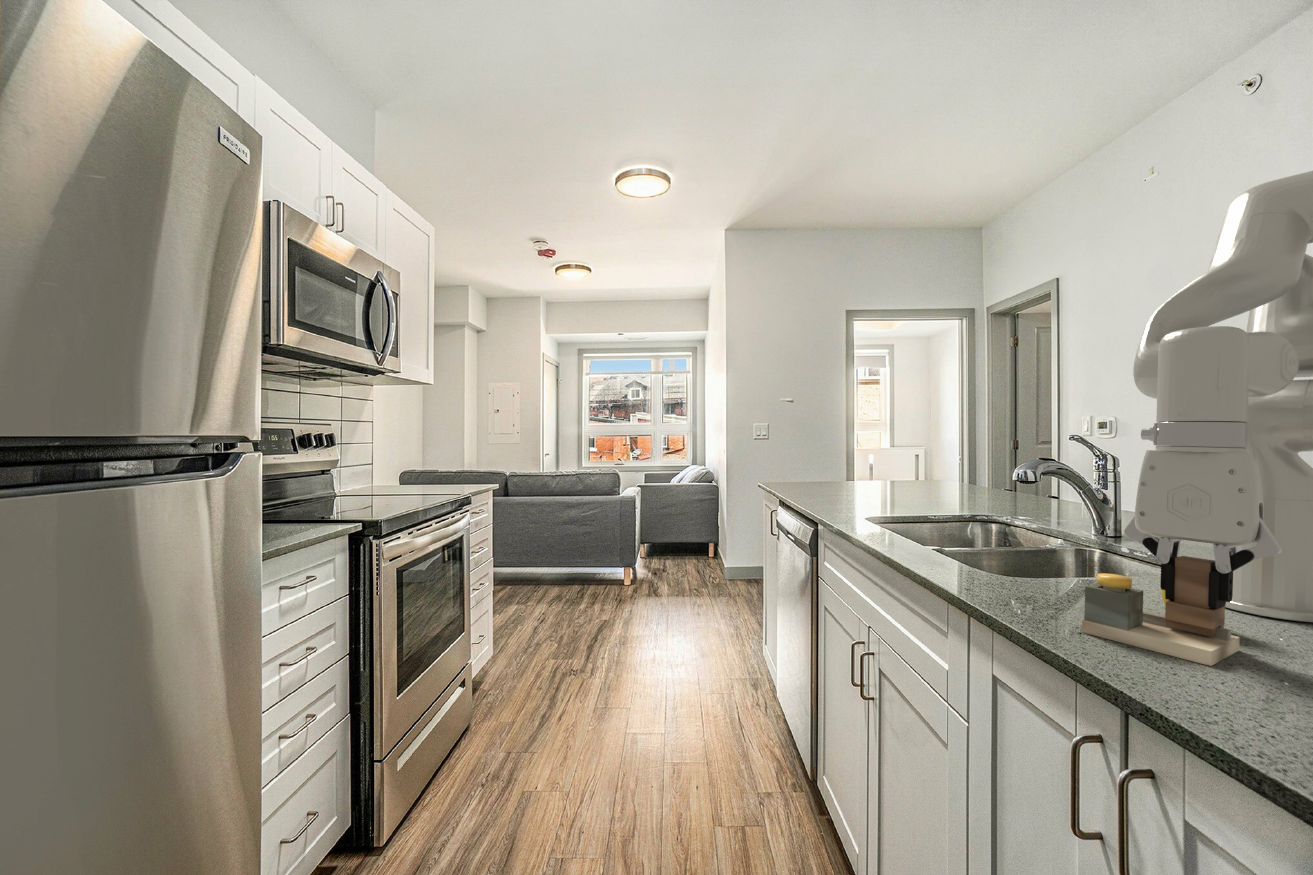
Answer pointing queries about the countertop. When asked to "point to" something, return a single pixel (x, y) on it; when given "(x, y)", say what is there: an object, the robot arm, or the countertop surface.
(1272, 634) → the countertop surface
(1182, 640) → the rail base
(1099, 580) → the button
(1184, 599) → the block
